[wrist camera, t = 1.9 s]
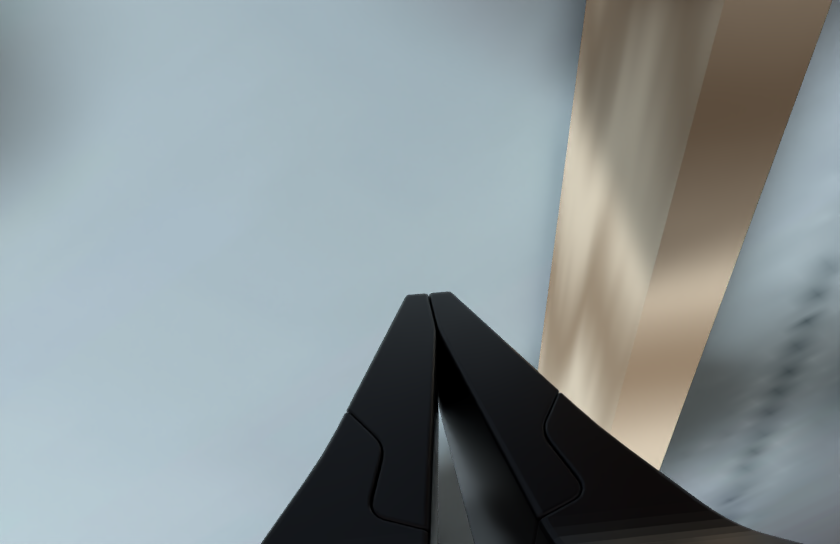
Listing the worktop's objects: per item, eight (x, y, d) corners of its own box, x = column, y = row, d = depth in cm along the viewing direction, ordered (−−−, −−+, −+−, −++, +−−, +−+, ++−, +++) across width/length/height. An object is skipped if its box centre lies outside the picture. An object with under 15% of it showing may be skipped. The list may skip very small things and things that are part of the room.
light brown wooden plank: (580, 423, 19) (640, 554, 15) (519, 429, 19) (562, 563, 15) (701, -143, 10) (940, -207, 6) (585, -140, 10) (745, -202, 6)
